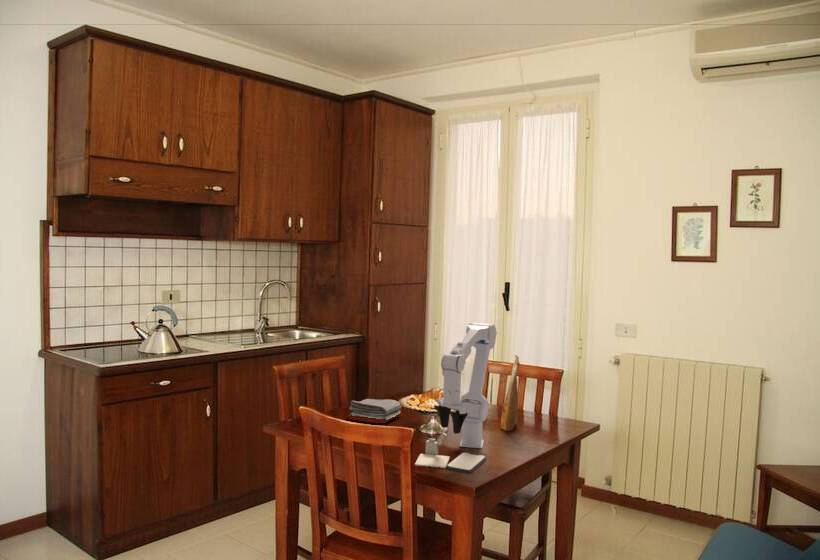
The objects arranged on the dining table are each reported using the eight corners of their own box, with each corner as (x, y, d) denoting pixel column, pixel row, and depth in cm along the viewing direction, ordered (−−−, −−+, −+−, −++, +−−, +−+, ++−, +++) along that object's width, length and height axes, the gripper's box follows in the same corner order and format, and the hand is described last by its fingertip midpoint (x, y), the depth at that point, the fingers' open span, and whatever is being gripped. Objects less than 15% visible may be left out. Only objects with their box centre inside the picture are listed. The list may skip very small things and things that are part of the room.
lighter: (425, 453, 217) (426, 430, 217) (427, 452, 219) (428, 429, 219) (443, 457, 214) (444, 434, 214) (446, 456, 216) (447, 432, 215)
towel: (386, 426, 252) (387, 406, 251) (346, 420, 259) (346, 401, 259) (402, 417, 266) (402, 399, 265) (363, 412, 273) (363, 393, 272)
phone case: (470, 475, 199) (487, 460, 213) (470, 470, 199) (487, 455, 213) (444, 470, 203) (462, 456, 217) (444, 465, 203) (462, 451, 217)
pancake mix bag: (520, 421, 265) (523, 354, 264) (516, 433, 246) (519, 361, 245) (504, 419, 267) (507, 353, 265) (498, 431, 248) (501, 360, 247)
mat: (420, 454, 216) (420, 453, 216) (449, 457, 214) (449, 456, 214) (414, 465, 205) (414, 463, 205) (445, 468, 203) (445, 466, 203)
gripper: (430, 386, 216) (429, 425, 217) (453, 395, 204) (452, 437, 204) (448, 384, 220) (446, 423, 220) (471, 393, 207) (470, 434, 208)
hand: (450, 430), depth 213 cm, fingers open, 7 cm apart
